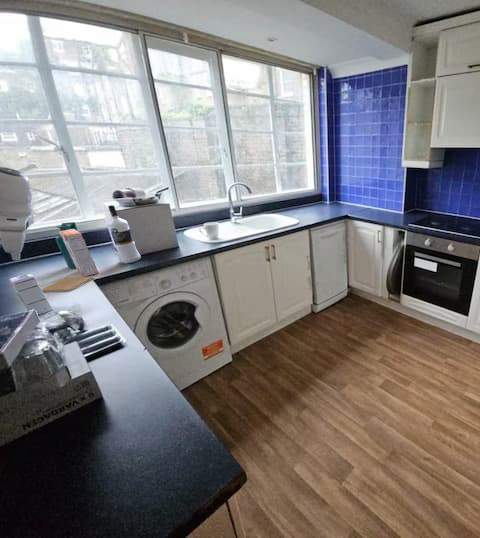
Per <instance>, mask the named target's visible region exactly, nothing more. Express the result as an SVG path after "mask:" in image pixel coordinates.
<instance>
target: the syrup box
mask: <svg viewBox="0 0 480 538" xmlns="http://www.w3.org/2000/svg"><path fill="white" fill-rule="evenodd" d="M8 280H9V282H10V284H11V287H13V289H14V290H15V292H16V294H17V296H18V298H19V299H20V301H21V303H22V304H23V306H24V308H25V309H26V311H27V312H28V311H29V310H32V309H35V310H36V311H37V313H38V314H40V313H43V314H46V313H48V312H51V311H52V310H53V308H52V305H51V303H50V302H49V300H48V298H47V296H46V294H45V292H43V291H42V289H43V288H42V287H41V286H40V284H39V283H38V281H37V278H36V277H35V276H34V275H33V274H31V273H26V274H20V275H17V276H14V277H11V278H8ZM40 315H41V314H40Z"/></svg>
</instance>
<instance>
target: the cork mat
mask: <svg viewBox="0 0 480 538" xmlns="http://www.w3.org/2000/svg"><path fill="white" fill-rule="evenodd" d="M93 277H94V276H87V277H84V276H74V277H64V278H61V279H60V280H57V281H56V282H53V283H51V284H49V285H47V286H45V287H43V288H41V289H42V291H43V293H59V292H72V291H73V290H75V289H77V288H79V287H80V285H81V284H83V283H85V282H86V283H88V282H90V281H91V280H90V279H92V278H93ZM89 280H90V281H89ZM92 280H93V279H92ZM87 281H88V282H87ZM86 283H85V284H86ZM83 285H84V284H83ZM78 286H79V287H78ZM81 286H82V285H81ZM76 287H77V288H76ZM74 288H75V289H74ZM72 289H73V290H72Z"/></svg>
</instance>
